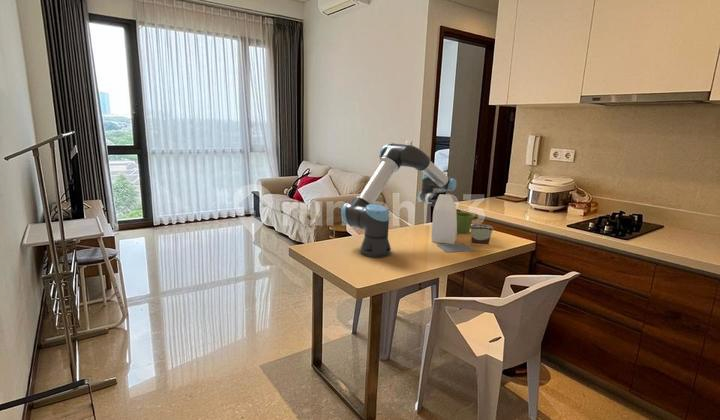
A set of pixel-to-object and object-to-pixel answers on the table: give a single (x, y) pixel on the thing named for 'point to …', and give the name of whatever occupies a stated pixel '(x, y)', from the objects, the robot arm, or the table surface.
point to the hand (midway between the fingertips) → (451, 208)
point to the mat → (455, 247)
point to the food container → (480, 234)
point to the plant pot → (464, 222)
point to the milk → (444, 220)
